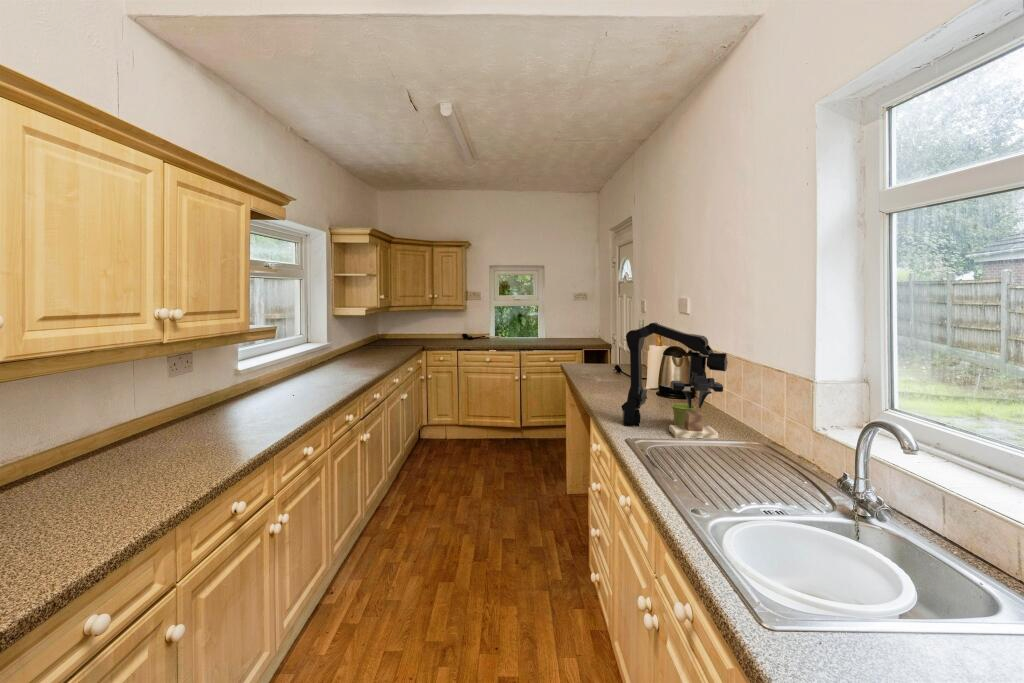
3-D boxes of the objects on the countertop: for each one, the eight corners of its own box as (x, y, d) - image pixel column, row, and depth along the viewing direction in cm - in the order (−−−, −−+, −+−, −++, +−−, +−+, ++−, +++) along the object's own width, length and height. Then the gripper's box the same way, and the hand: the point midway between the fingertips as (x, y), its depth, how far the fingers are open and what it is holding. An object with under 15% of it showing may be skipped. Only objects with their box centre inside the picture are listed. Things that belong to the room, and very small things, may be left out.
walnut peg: (687, 437, 194) (689, 414, 193) (683, 432, 199) (685, 410, 198) (702, 437, 194) (703, 415, 193) (697, 433, 199) (699, 411, 198)
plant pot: (665, 423, 212) (666, 403, 211) (684, 422, 215) (685, 402, 214) (679, 430, 203) (680, 409, 202) (698, 428, 206) (700, 408, 205)
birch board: (675, 438, 192) (675, 431, 192) (669, 430, 202) (669, 424, 201) (717, 439, 191) (718, 433, 191) (709, 432, 201) (710, 426, 201)
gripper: (678, 371, 186) (675, 412, 188) (730, 372, 185) (726, 414, 187) (670, 366, 197) (668, 405, 199) (719, 367, 196) (716, 406, 198)
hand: (694, 407), depth 195 cm, fingers open, 3 cm apart
